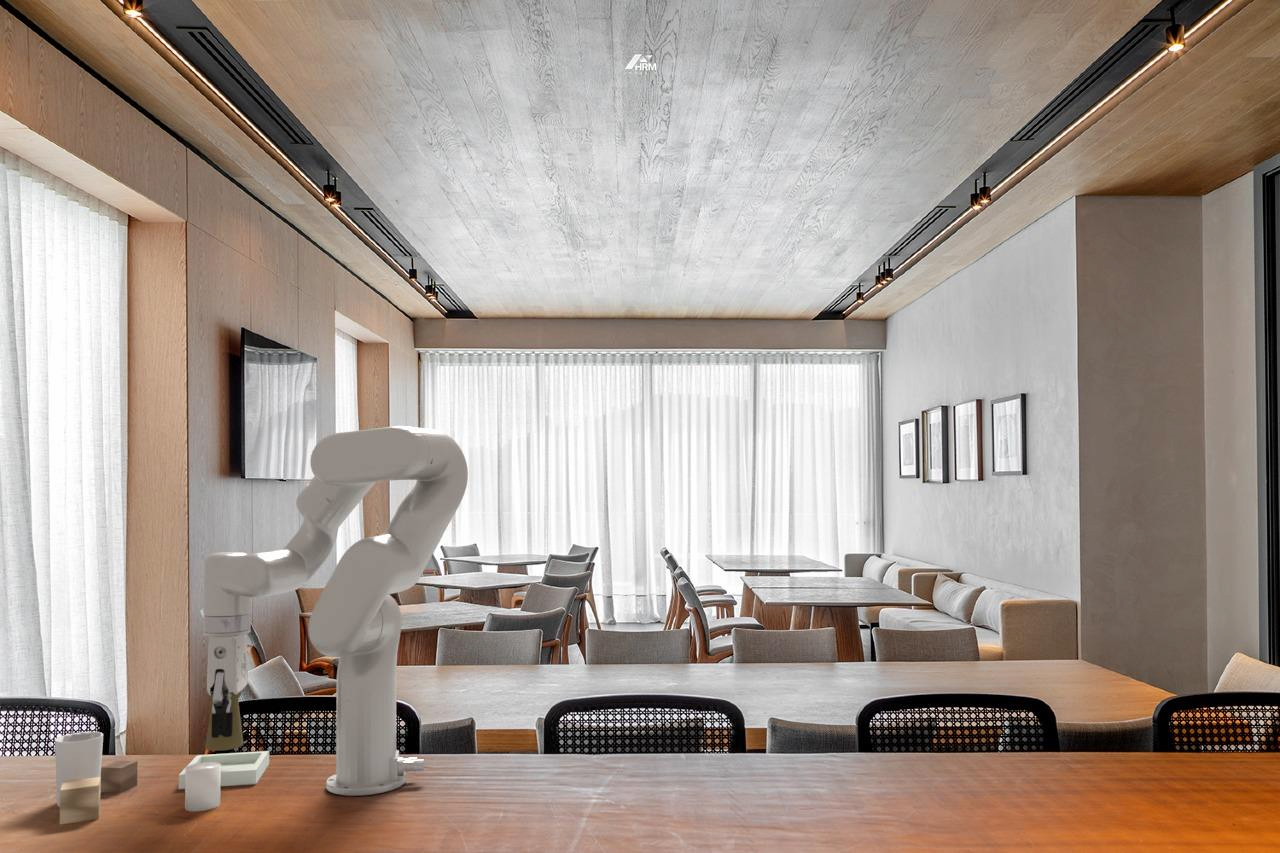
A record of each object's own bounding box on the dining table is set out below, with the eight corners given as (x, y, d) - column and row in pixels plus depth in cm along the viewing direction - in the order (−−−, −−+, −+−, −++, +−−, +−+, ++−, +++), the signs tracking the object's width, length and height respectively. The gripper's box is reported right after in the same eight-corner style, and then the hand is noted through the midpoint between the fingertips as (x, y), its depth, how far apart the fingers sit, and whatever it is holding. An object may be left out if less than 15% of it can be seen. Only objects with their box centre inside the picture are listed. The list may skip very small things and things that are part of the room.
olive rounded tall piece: (229, 751, 165) (230, 684, 166) (197, 749, 167) (198, 683, 167) (250, 742, 171) (251, 677, 172) (219, 740, 172) (220, 676, 173)
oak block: (100, 809, 152) (100, 776, 152) (98, 819, 148) (99, 785, 148) (62, 815, 150) (63, 781, 150) (59, 825, 145) (60, 790, 146)
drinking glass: (112, 797, 158) (113, 733, 159) (75, 810, 152) (77, 743, 152) (80, 793, 160) (81, 730, 161) (43, 806, 154) (44, 740, 154)
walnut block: (137, 785, 164) (137, 761, 164) (120, 793, 160) (121, 768, 161) (115, 784, 165) (115, 760, 165) (98, 792, 161) (99, 767, 161)
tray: (269, 764, 176) (269, 750, 176) (256, 783, 164) (256, 769, 164) (196, 768, 173) (197, 755, 173) (178, 789, 162) (178, 774, 162)
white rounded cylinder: (223, 799, 156) (223, 761, 156) (216, 810, 151) (216, 769, 151) (189, 802, 155) (190, 763, 155) (181, 812, 150) (181, 772, 150)
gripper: (240, 631, 163) (238, 744, 162) (259, 617, 179) (257, 720, 178) (191, 632, 161) (189, 747, 160) (215, 619, 178) (213, 722, 177)
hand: (225, 732), depth 169 cm, fingers closed on olive rounded tall piece, 4 cm apart
